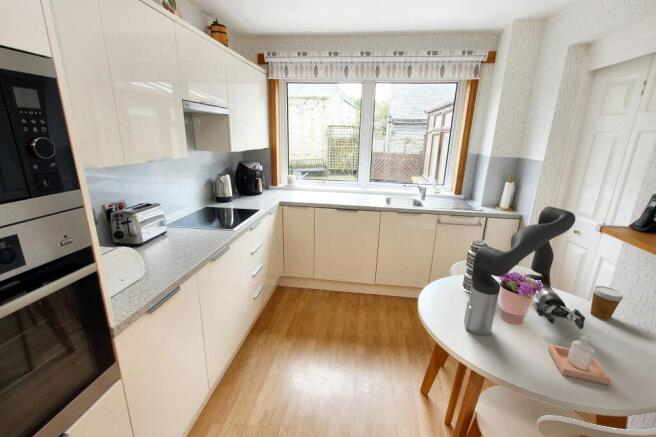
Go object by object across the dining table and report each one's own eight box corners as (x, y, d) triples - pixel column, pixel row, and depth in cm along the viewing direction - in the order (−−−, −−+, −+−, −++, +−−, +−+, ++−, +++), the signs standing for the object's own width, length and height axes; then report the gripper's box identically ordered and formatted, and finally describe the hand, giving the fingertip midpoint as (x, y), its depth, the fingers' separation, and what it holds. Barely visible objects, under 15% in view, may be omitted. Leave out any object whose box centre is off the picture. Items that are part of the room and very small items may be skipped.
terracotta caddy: (561, 375, 93) (563, 368, 93) (547, 350, 104) (549, 344, 104) (608, 385, 90) (610, 379, 89) (588, 358, 101) (590, 352, 100)
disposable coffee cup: (620, 320, 123) (629, 295, 120) (605, 324, 120) (614, 298, 117) (594, 308, 132) (602, 284, 128) (580, 311, 129) (587, 286, 126)
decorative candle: (481, 296, 138) (491, 247, 131) (459, 291, 142) (468, 242, 136) (482, 288, 145) (492, 241, 138) (462, 283, 150) (470, 237, 143)
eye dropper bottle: (577, 371, 94) (587, 340, 91) (564, 358, 100) (573, 328, 96) (591, 372, 94) (602, 340, 91) (577, 359, 100) (586, 329, 96)
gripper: (531, 289, 121) (546, 311, 106) (573, 296, 117) (594, 319, 102) (527, 305, 123) (541, 328, 108) (568, 312, 119) (588, 337, 104)
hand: (567, 324), depth 105 cm, fingers open, 8 cm apart
